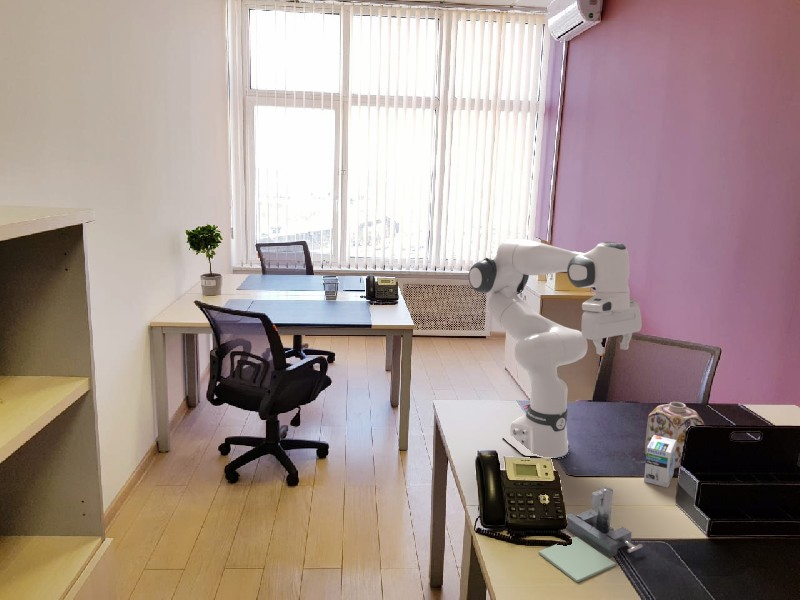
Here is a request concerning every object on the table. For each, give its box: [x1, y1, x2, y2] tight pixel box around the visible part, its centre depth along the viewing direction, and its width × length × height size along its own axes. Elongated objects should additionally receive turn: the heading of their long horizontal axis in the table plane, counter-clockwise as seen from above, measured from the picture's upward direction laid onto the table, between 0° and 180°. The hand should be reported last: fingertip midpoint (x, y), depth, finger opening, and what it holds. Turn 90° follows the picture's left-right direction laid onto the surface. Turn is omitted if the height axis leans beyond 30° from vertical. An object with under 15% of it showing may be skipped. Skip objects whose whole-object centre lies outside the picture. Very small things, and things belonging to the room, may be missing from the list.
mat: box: [538, 536, 616, 583], centre depth 142 cm, size 12×12×1 cm
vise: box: [566, 508, 644, 558], centre depth 150 cm, size 17×9×3 cm, turn 30°
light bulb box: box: [643, 435, 677, 488], centre depth 179 cm, size 11×7×11 cm, turn 148°
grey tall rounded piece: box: [590, 486, 615, 535], centre depth 150 cm, size 6×7×12 cm
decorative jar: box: [644, 401, 705, 470], centre depth 190 cm, size 12×12×18 cm
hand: (612, 351), depth 170 cm, fingers open, 8 cm apart
